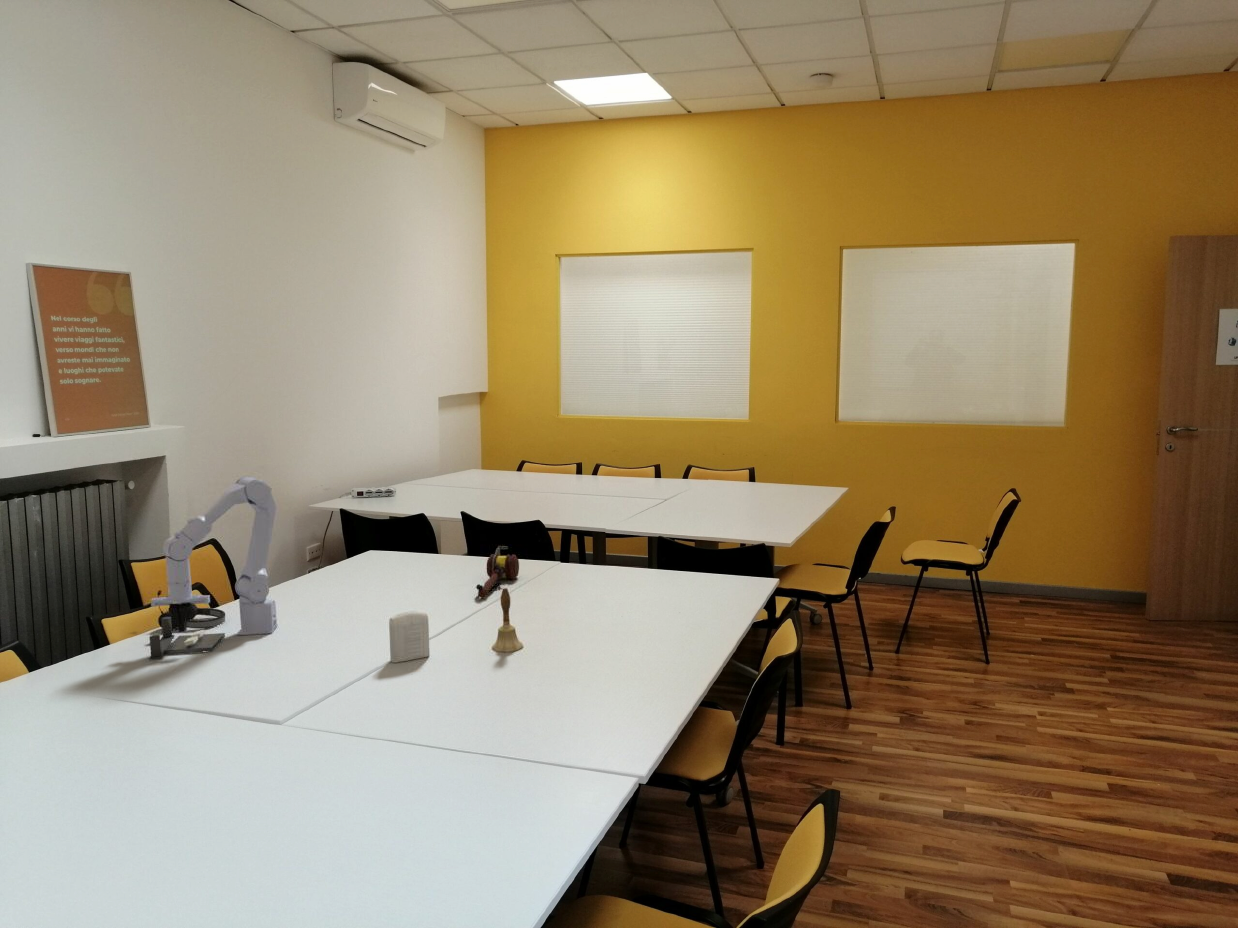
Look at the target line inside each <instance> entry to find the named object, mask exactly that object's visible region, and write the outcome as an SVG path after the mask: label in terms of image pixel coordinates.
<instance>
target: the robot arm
mask: <svg viewBox="0 0 1238 928" xmlns="http://www.w3.org/2000/svg"><path fill="white" fill-rule="evenodd" d="M245 503H246V504H247V503H248V504H249V505H250V506H251V508H252V509H253V510H254V511H255V513H254V519H253V524H252V530H251V536H250V541H249V545H248V552H247V556H246V562H245V566H244V567H243V568H242V570H241V571H240V575H239V577H238V579H237V580H236V582H235V585H234V588H235V592H236V594H237V595H238V596H239V601H238V603H239V615H240V616H239V617H240V630H239V631H238V632H237V633H236V635H237V636H245V635H246V636H247V635H248V636H250V635H263V634H265V635H266V634H272V633H274V630H276V628H277V627H278V621H277V620H278V619H277V607H276V602H275V601H276V600H275V599H268V598H267V597H268V595H269V592H270V587H269V584H268V583H269V581H268V579H269V576H268V572H267V569H266V566H267V562H268V561H267V560H268V556H269V550H270V545H271V539H272V533H273V528H274V522H275V517H276V513H277V504H276V502H275V499H274V497H273V493H272V487H271V486H270V485H269V484H268V483H267V482H266V481H265V480H263V479H260V478H255V477H252V476H251V477H250V476H242V477H239V478H238V479H237V480H236V481H235V482H234V483H231V485H229V487H228V488H227V490H226V491H225V492H224V493H223V494H222V495H221V496H220V497H219V498H218V499H217V500H216V501H215V502H214V503H213V504H212V506H210V508H208V509H207V510H206V512H205V513H204V514H203V515H199V516H194V517H189V519H187V524H185V525H184V526H183V527H182V528H181V529H180V530H179V531H176V532H174V533H173V536H172V537H168V538H167V539H166V540H164V542H163V545H162V547H161V552H162V554H163V555H164V557H165V563H166V565H165V566H166V579H167V580H166V581H167V591H168V592H167V593H168V594H167V595H168V596H164V597H162V596H161V597H159V598H158V597H154V598H151V599H150V605H151V608H156V607H159V606H160V607H161V606H169V607H168V610H167V611H169V612H170V613H171V615H172V616H173V618H174V619H175V621H176V624H177V626H178V628H177V629H178V632H179V633H181V632H185V631H187V622H188V618H189V615H190V612H191V610H192V607H193V605H194V604H195V605H198V604H199V605H200V604H204V605H208V604H210V603H211V595H210V594H209V595H207V594H205V595H202V594H201V595H200V594H193V592H192V578H191V564H190V557H191V555H192V554H193V549H194V548H195V547H196V546H197V545H198V544H199V543H200V542H202V541H203V539H204V538H206V536H208V535H209V534H210V532H212V527H213V524H214V523H215V522H217V520H219V519H220V518H221V517H222V516H223V515H225V514H226V513H227V512H229V510H230V509H231V508H233V507H234V506H235V505H240V504H245Z"/></svg>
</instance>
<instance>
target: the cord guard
mask: <svg viewBox="0 0 1238 928" xmlns="http://www.w3.org/2000/svg"><path fill="white" fill-rule="evenodd" d="M161 620H162V628H161V629H162V631H161V632H162V636H160V634H154V635H150V636H149V637H148V639H149V647H150V656H149V658H148V661H150V662H151V661H157V660H163V658H164V656H165V655H164V650H165V649H166V648H167V647H168V646H169V645H170V644H171V643H172V642H173V640H174V639H175V634H173V630H172V625H171V617H164V618H162V619H161ZM172 639H173V640H172ZM171 641H172V642H171Z"/></svg>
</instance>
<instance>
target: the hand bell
mask: <svg viewBox="0 0 1238 928" xmlns="http://www.w3.org/2000/svg"><path fill="white" fill-rule="evenodd" d="M500 606H501V610H502V624H503V625H501V626H499V627H498V630H497V631H498V632H497V636H496V637H497V638H496V640H495V642H494V643H493V645H492V646H491V650H493V651H494V652H498V653H511V652H512V653H513V652H516V651H520V650H521V649H522V648H524V645H523V643H522V642H521V641H520V639H519V637H518V635H517V633H516V628H515V626H513V625H511V624H510V621H511V620H510V607H511V595H510V593H509V590H508V587H507V588H506V587H503V588H502V590H501V595H500Z"/></svg>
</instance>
